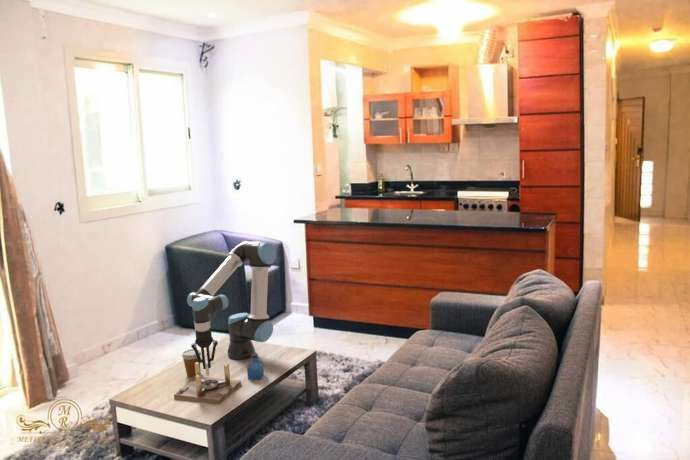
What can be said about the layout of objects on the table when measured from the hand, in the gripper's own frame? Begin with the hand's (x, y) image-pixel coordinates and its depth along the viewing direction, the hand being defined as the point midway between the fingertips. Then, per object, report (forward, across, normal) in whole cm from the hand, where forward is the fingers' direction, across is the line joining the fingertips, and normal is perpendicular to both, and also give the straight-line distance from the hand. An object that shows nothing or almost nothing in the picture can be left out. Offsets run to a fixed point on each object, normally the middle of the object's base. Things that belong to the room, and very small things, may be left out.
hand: (207, 374), depth 283 cm
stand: (+5, 0, +8) cm, 10 cm away
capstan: (+3, +1, +6) cm, 7 cm away
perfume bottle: (+6, -23, -1) cm, 24 cm away
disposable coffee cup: (+5, +8, -15) cm, 18 cm away
